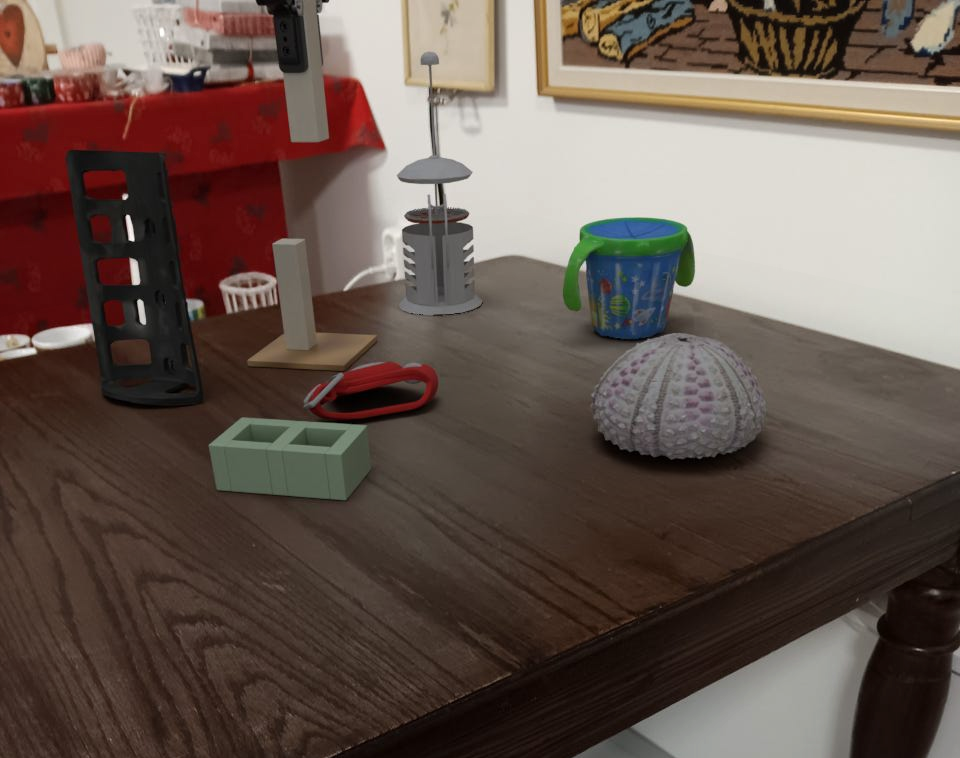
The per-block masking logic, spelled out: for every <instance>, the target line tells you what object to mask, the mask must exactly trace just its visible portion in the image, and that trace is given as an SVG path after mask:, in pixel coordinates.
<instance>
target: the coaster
mask: <svg viewBox="0 0 960 758" xmlns="http://www.w3.org/2000/svg"><path fill="white" fill-rule="evenodd" d="M316 339H317V344H316V345H314V346H313V347H312V348H311V349H310V350H288V349H286V344H285V336H284V333H282V334H281V335H279V336H278V337H277V338H276V339H274V340H273V341H271V342H270V343H268V345H266V346H265V347H263V348H262V349H261V350H259V351H257V353H255V354H254V355H252V356H251V357H249V358H248V359H247V360H246V363H247V367H254V368H255V367H256V368H257V367H258V368H276V369H294V370H311V371H312V370H314V371H315V370H316V371H335V372H346V371H347V370H348V369H349V368H350V367H351V366H352V365H353V364H354V363H355V362H356V361H357V360H358V359H359V358H361V356H363V355H364V354H365V353H367V351H368V350H369V349H370V348H371V347H372V346H373V345H375V344H376V342H378V335H377V334H361V333H360V334H358V333H336V332H316Z"/></svg>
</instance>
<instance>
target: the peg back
mask: <svg viewBox="0 0 960 758" xmlns="http://www.w3.org/2000/svg"><path fill="white" fill-rule="evenodd" d="M271 246H272V254H273V261H274V267H275V275H276V282H277V291H278V298H279V305H280V313H281V319H282V320H281V321H282V328H283V329H282V330H283V334H284V336H285V344H286V349H288V350H310V349H311V348H312V347H313V346H314V345H316V344H317V339H316V333H317V331H316V323H315V321H316V320H315V314H314V305H313V304H314V303H313V297H312V288H311V279H310V271H309V263H308V262H309V261H308V253H307V244H306V238H280V239H278V240H276V241H275V242H273V243H272V244H271Z"/></svg>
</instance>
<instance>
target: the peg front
mask: <svg viewBox="0 0 960 758" xmlns="http://www.w3.org/2000/svg"><path fill="white" fill-rule="evenodd" d="M302 7H303V8H302V13H301V14H298V16H303V19H304V28H305V38H306V47H307V57H308V69H307V71H306V72H302V73H283V72H282V76H283V85H284V93H285V102H286V110H287V118H288V128H289V135H290V142H291V143H320V142H323V141H326V140H329V139H330V133H329V124H328V122H329V121H328V114H327V113H328V112H327V102H326V93H325V83H324V73H323V72H324V71H323V66H322V61H321V51H320V41H319V31H318V21H317V15H318V13H317V11H316V1H315V0H302Z"/></svg>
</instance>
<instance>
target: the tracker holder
mask: <svg viewBox="0 0 960 758" xmlns="http://www.w3.org/2000/svg"><path fill="white" fill-rule="evenodd" d="M401 382H405V383H407V384H409V385H411V384H412V385H413V384H414V385H415V384H416V385H417V384H419V383H422V382H423V383H424V384H425V385H426V387H425V391H424V393H423V395H422V396H421V397H420V399H418V400H415V401H410V402H409V401H408V402H404V403H398V404H393V405H387V406H381V407H376V408H368V409H363V410H357V411H351V412H334V411H333V412H332V411H329V410H326V409H324V407H323V405H325V404H327V403H330V402H332V401H334V400H336V399H337V397H338V398H339V397H343V396H349V395H352V394H357V393H361V392H364V391H367V390H368V391H369V390H372V389H373V390H374V389H376V388H380V387H385V386H389V385H393V384H397V383H401ZM438 389H439V377H438V374H437V372H436V370H435V369H434V368H433V367H432V366H431V365H429V364H427V363H419V362H410V363H409V362H408V363H407V364H405V365H403V366H402V365H401V364H399V363H398V362H394V361H376V362H369V363H365V364H362V365H359V366H356V367H354V368H352V369H350V370H346V371H344V372H339V373H337V374H335V375H332V376H331V377H330V379H328V380H327V381H326V382H324V383H323V382H322V383H319V384H317V385H314V386H313V387H311V389H310V390H309V392H308V394H307V395H306V397H305V398H304V400H303V404H304V405H303V407H302V408H303V409H304V410H306V411H307V410H309V412H310V413H312V415H314V416H316V417H318V418H319V419H322V420H327V421H329V420H330V421H349V420H350V421H351V420H362V419H368V418H373V417H379V416H383V415H384V416H386V415H390V414H395V413H401V412H406V411H412V410H416V409H418V408H421V407H423V406H425V405H428V404H429V402H431V401H432V400H433V399H434V397H435V396H436V395H437V392H438Z"/></svg>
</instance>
